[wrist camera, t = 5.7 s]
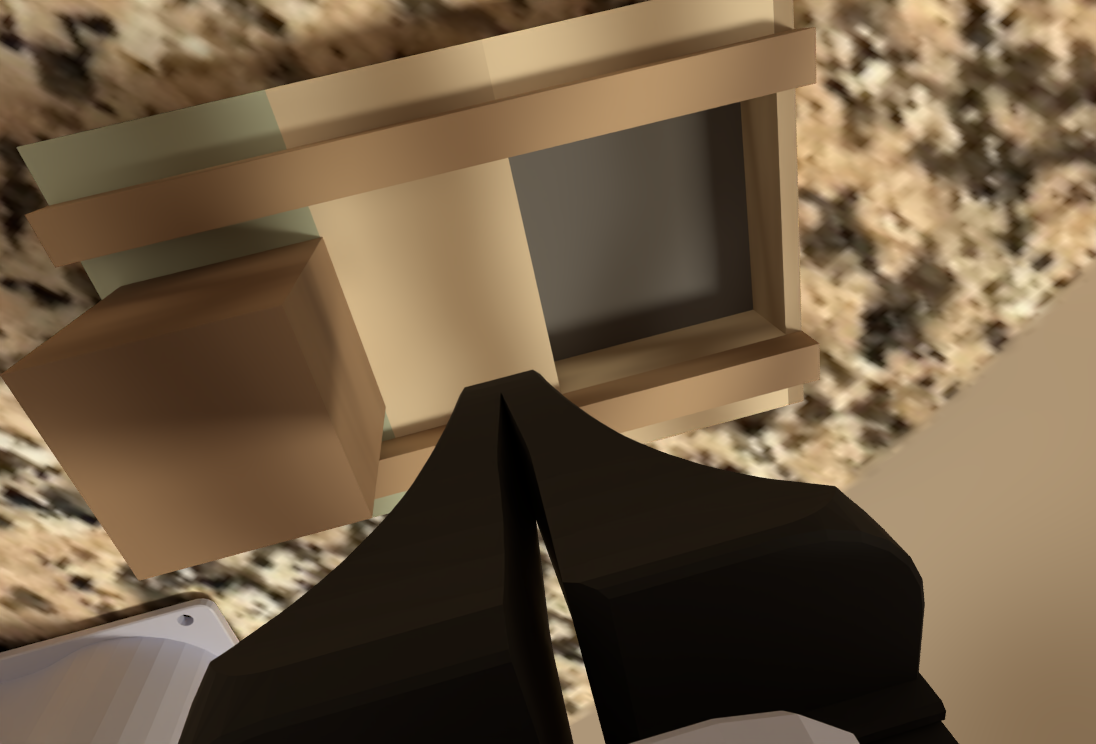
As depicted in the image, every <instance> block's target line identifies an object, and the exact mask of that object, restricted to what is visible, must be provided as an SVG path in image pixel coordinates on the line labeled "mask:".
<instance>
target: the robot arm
mask: <svg viewBox="0 0 1096 744" xmlns="http://www.w3.org/2000/svg"><path fill="white" fill-rule="evenodd" d="M536 521H537V524H538V527H539V529H540V532H541V535H542V538H543V540H544V543H545V546H546V548H547V551H548V554H549V557H550V559H551V562H552V565H553V568H554V570H555V573H556V576H557V578H558V581H559V584H560V587H561V589H562V592H563V595H564V597H565V600H566V603H567V606H568V608H569V611H570V614H571V617H572V619H573V623H574V627H575V631H576V634H577V638H578V642H579V646H580V649H581V653H582V657H583V661H584V664H585V668H586V672H587V676H588V680H589V683H590V687H591V691H592V695H593V698H594V702H595V706H596V710H597V713H598V717H599V721H600V724H601V728H602V732H603V736H604V740H605V743H606V744H958V742H957V741H956V740H955V738H954V737H953V736H952V734H951V733H950V732H949V731H948V729H947V728H946V727H945V725H944V724H943V723H942V722H941V721H942V720H945V714H946V710H945V708H944V705H943V703H942V700H941V699H940V698H939V697H938V696H937V694H936V693H935V692H934V690H933V689H932V688H931V687H930V685H929V684H928V683H927V682H926V680H925V679H924V678H923V677H922V676H921V674H920V673H919V662H920V650H921V640H922V628H923V617H924V606H925V602H924V592H923V581H922V577H921V576H920V574H919V572H918V570H917V568H916V566H915V564H914V563H913V561H912V559H911V557H910V556H909V555H908V554H907V553H906V552H905V551H904V550H903V549H902V548H901V547H900V546H899V545H898V544H897V543H896V542H895V541H894V540H893V539H892V537H890V536H889V534H888V533H887V532H886V531H885V530H884V529H883V528H882V527H881V526H880V525H879V524H878V523H877V522H876V521H875V520H874V519H872V518H871V517H870V516H869V515H868V514H867V513H866V512H865V511H864V510H863V509H861V508H860V507H859V506H858V505H857V504H855V503H854V502H853V501H852V500H851V499H849V498H848V497H847V496H846V495H845V494H843V493H842V492H841V491H840V490H839V489H838V488H837V487H835V486H829V485H820V484H811V483H802V482H793V481H784V480H775V479H767V478H761V477H755V476H750V475H745V474H740V473H735V472H730V471H725V470H721V469H717V468H713V467H709V466H705V465H701V464H698V463H695V462H691V461H688V460H685V459H682V458H679V457H676V456H672V455H669V454H667V453H664V452H661V451H658V450H656V449H653V448H651V447H648V446H646V445H644V444H642V443H639V442H637V441H635V440H633V439H630V438H628V437H626V436H624V435H622V434H620V433H618V432H616V431H615V430H613V429H611V428H610V427H608V426H606V425H605V424H603V423H601V422H600V421H598V420H597V419H595V418H594V417H592V416H591V415H589V414H588V413H586V412H585V411H583V410H582V409H581V408H579V407H578V406H577V405H575V404H574V403H572V402H571V401H570V400H568V399H567V398H566V397H565V396H563V395H562V394H561V393H560V392H559V391H558V390H556V389H555V388H554V387H553V386H552V385H551V384H550V383H549V382H548V381H546V380H545V378H544V377H543V376H542V375H541V374H540V373H538V372H536V371H535V370H529V371H525V372H521V373H517V374H514V375H510V376H506V377H502V378H498V379H495V380H491V381H487V382H483V383H479V384H476V385H472V386H468V387H464V389H463V391H462V392H461V394H460V396H459V398H458V401H457V403H456V405H455V408H454V410H453V412H452V414H451V416H450V419H449V421H448V423H447V425H446V427H445V429H444V431H443V433H442V435H441V437H440V438H439V440H438V442H437V444H436V446H435V448H434V450H433V452H432V453H431V455H430V457H429V458H428V460H427V462H426V463H425V465H424V466H423V468H422V469H421V471H420V473H419V474H418V476H417V477H416V479H415V481H414V482H413V484H412V485H411V487H410V488H409V489H408V491H407V492H406V493H405V495H404V496H403V497H402V499H401V500H400V501H399V502H398V503H397V505H396V506H395V507H394V508H393V509H392V511H391V512H390V513H389V514H388V516H387V517H386V518H385V519H384V520H383V521H382V522H381V524H380V525H379V526H378V527H377V528H376V529H375V530H374V531H373V532H372V533H371V534H370V535H369V536H368V537H367V538H366V539H365V540H364V541H363V542H362V543H361V544H360V545H359V546H358V547H357V548H356V549H355V550H354V551H353V552H352V553H351V554H350V555H349V556H348V557H347V558H346V559H345V560H344V561H343V562H342V563H341V564H340V565H338V566H337V567H336V568H335V569H334V570H333V571H332V572H331V573H329V574H328V575H327V576H326V577H325V578H324V579H323V580H321V581H320V582H319V583H318V584H317V585H315V586H314V587H313V588H312V589H310V590H309V591H308V592H307V593H306V594H304V595H303V596H302V597H301V598H299V599H298V600H297V601H296V602H294V603H293V604H292V605H291V606H289V607H288V608H287V609H285V610H284V611H283V612H281V613H280V614H279V615H277V616H276V617H274V618H273V619H272V620H270V621H269V622H267V623H266V624H264V625H263V626H262V627H260V628H259V629H257V630H256V631H254V632H253V633H252V634H250V635H249V636H247V637H246V638H244V639H243V640H242V641H240V642H239V640H238V639H237V637H236V636H235V634H234V632H233V631H232V629H231V627H230V626H229V624H228V623H227V621H226V619H225V618H224V616H223V614H222V613H221V611H220V610H219V608H218V606H217V605H216V604H215V603H214V602H213V601H211V600H209V599H204V598H201V599H195V600H191V601H187V602H184V603H180V604H176V605H173V606H169V607H165V608H162V609H158V610H154V611H151V612H147V613H143V614H140V615H136V616H132V617H129V618H125V619H122V620H118V621H114V622H111V623H107V624H103V625H100V626H96V627H92V628H89V629H85V630H81V631H78V632H74V633H70V634H67V635H63V636H59V637H56V638H52V639H48V640H45V641H41V642H37V643H34V644H30V645H26V646H23V647H19V648H16V649H12V650H8V651H5V652H1V653H0V744H573V740H572V735H571V730H570V726H569V721H568V717H567V713H566V708H565V704H564V699H563V695H562V690H561V686H560V681H559V677H558V672H557V668H556V663H555V659H554V654H553V649H552V643H551V637H550V630H549V623H548V615H547V606H546V598H545V590H544V581H543V573H542V565H541V556H540V548H539V540H538V532H537V524H536ZM184 615H189V616H191V617H186V616H184Z"/></svg>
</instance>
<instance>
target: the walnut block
mask: <svg viewBox="0 0 1096 744" xmlns="http://www.w3.org/2000/svg"><path fill="white" fill-rule="evenodd" d="M0 376H1V377H2V378H3V380H4V381H5V383H6V384H7V386H8V387H9V389H10V390H11V392H12V393H13V395H14V396H15V398H16V399H17V401H18V402H19V404H20V405H21V407H22V408H23V410H24V411H25V413H26V414H27V415H28V417H29V418H30V420H31V421H32V423H33V424H34V426H35V427H36V429H37V430H38V432H39V433H40V435H41V436H42V438H43V439H44V441H45V442H46V444H47V445H48V447H49V448H50V450H51V451H52V453H53V454H54V455H55V457H56V458H57V460H58V461H59V463H60V464H61V466H62V467H63V469H64V470H65V472H66V473H67V475H68V476H69V478H70V479H71V481H72V482H73V484H74V485H75V487H76V488H77V490H78V491H79V493H80V494H81V495H82V497H83V498H84V500H85V501H86V503H87V504H88V506H89V507H90V509H91V510H92V512H93V513H94V515H95V516H96V518H97V519H98V521H99V522H100V524H101V525H102V527H103V528H104V530H105V531H106V532H107V534H108V535H109V537H110V538H111V540H112V541H113V543H114V544H115V546H116V547H117V549H118V550H119V552H120V553H121V555H122V556H123V558H124V559H125V561H126V562H127V564H128V565H129V567H130V568H131V570H132V571H133V572H134V574H135V575H136V577H137V578H138V580H143V579H147V578H151V577H154V576H158V575H162V574H165V573H169V572H173V571H177V570H180V569H184V568H188V567H191V566H195V565H199V564H203V563H206V562H210V561H214V560H217V559H221V558H225V557H229V556H232V555H236V554H240V553H243V552H247V551H251V550H254V549H258V548H262V547H266V546H269V545H273V544H277V543H280V542H284V541H288V540H292V539H295V538H299V537H303V536H306V535H310V534H314V533H318V532H321V531H325V530H329V529H332V528H336V527H340V526H344V525H347V524H351V523H355V522H358V521H362V520H366V519H370V518H372V515H373V507H374V499H375V491H376V483H377V474H378V466H379V458H380V450H381V442H382V434H383V426H384V418H385V410H386V406H385V403H384V401H383V398H382V395H381V392H380V390H379V387H378V384H377V382H376V379H375V376H374V374H373V371H372V368H371V366H370V363H369V360H368V357H367V355H366V352H365V349H364V347H363V344H362V341H361V339H360V336H359V333H358V331H357V328H356V325H355V323H354V320H353V317H352V314H351V312H350V309H349V306H348V304H347V301H346V298H345V296H344V293H343V290H342V288H341V285H340V282H339V280H338V277H337V274H336V271H335V269H334V266H333V263H332V261H331V258H330V255H329V253H328V250H327V247H326V245H325V242H324V239H323V237H320V238H316V239H312V240H308V241H304V242H300V243H296V244H292V245H288V246H283V247H279V248H275V249H271V250H267V251H263V252H259V253H255V254H251V255H246V256H242V257H238V258H234V259H230V260H226V261H222V262H218V263H214V264H210V265H205V266H201V267H197V268H193V269H189V270H185V271H181V272H177V273H173V274H168V275H164V276H160V277H156V278H152V279H148V280H144V281H140V282H136V283H132V284H127V285H123V286H120V287H119V288H117V289H116V290H115V291H113V292H112V293H111V294H109V295H108V296H107V297H105V298H104V299H102V300H101V301H100V302H98V303H97V304H96V305H94V306H93V307H92V308H90V309H89V310H88V311H86V312H85V313H84V314H82V315H81V316H79V317H78V318H77V319H75V320H74V321H73V322H71V323H70V324H69V325H67V326H66V327H65V328H63V329H62V330H60V331H59V332H58V333H56V334H55V335H54V336H52V337H51V338H50V339H48V340H47V341H46V342H44V343H43V344H41V345H40V346H39V347H37V348H36V349H35V350H33V351H32V352H31V353H29V354H28V355H27V356H25V357H24V358H23V359H21V360H20V361H18V362H17V363H16V364H14V365H13V366H12V367H10V368H9V369H8V370H6V371H5V372H4V373H2V374H1V375H0Z"/></svg>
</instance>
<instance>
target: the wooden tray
mask: <svg viewBox="0 0 1096 744" xmlns="http://www.w3.org/2000/svg"><path fill="white" fill-rule="evenodd" d="M815 83H816V27H813V28H801V29H794V17H793V0H650V1H646V2H642V3H637V4H633V5H629V6H624V7H620V8H616V9H611V10H607V11H603V12H598V13H594V14H590V15H585V16H581V17H577V18H572V19H568V20H564V21H559V22H555V23H551V24H546V25H542V26H538V27H534V28H529V29H525V30H521V31H516V32H512V33H508V34H503V35H499V36H495V37H490V38H486V39H482V40H477V41H473V42H469V43H464V44H460V45H456V46H451V47H447V48H443V49H438V50H434V51H430V52H425V53H421V54H417V55H412V56H408V57H404V58H400V59H395V60H391V61H387V62H382V63H378V64H374V65H369V66H365V67H361V68H356V69H352V70H348V71H343V72H339V73H335V74H330V75H326V76H322V77H317V78H313V79H309V80H304V81H300V82H296V83H291V84H287V85H283V86H278V87H274V88H270V89H266V90H261V91H257V92H253V93H248V94H244V95H240V96H235V97H231V98H227V99H222V100H218V101H214V102H209V103H205V104H201V105H196V106H192V107H188V108H183V109H179V110H175V111H170V112H166V113H162V114H157V115H153V116H149V117H144V118H140V119H136V120H132V121H127V122H123V123H119V124H114V125H110V126H106V127H101V128H97V129H93V130H88V131H84V132H80V133H75V134H71V135H67V136H62V137H58V138H54V139H49V140H45V141H41V142H36V143H32V144H28V145H23V146H19V147H16V148H17V149H18V151H19V153H20V155H21V157H22V158H23V160H24V162H25V164H26V166H27V167H28V169H29V171H30V173H31V174H32V176H33V178H34V180H35V182H36V183H37V185H38V187H39V189H40V191H41V192H42V194H43V196H44V198H45V199H46V201H47V203H48V205H49V206H46V207H44V208H41V209H39V210H36V211H33V212H31V213H28V214H26V215H25V216H26V218H27V220H28V221H29V223H30V225H31V227H32V228H33V230H34V232H35V234H36V235H37V237H38V239H39V240H40V242H41V244H42V246H43V247H44V249H45V251H46V252H47V254H48V256H49V258H50V259H51V261H52V263H53V264H54V266H55V267H59V266H63V265H68V264H72V263H76V262H81V264H82V265H83V267H84V269H85V271H86V273H87V274H88V276H89V278H90V280H91V281H92V283H93V285H94V287H95V289H96V290H97V292H98V294H99V296H100V298H101V299H104V298H105V297H107V296H108V295H109V294H111V293H112V292H113V291H115V290H116V289H117V288H119V287H120V286H123V285H127V284H132V283H136V282H140V281H144V280H148V279H152V278H156V277H160V276H164V275H168V274H173V273H177V272H181V271H185V270H189V269H193V268H197V267H201V266H205V265H210V264H214V263H218V262H222V261H226V260H230V259H234V258H238V257H242V256H246V255H251V254H255V253H259V252H263V251H267V250H271V249H275V248H279V247H283V246H288V245H292V244H296V243H300V242H304V241H308V240H312V239H316V238H320V237H323V239H324V242H325V245H326V247H327V250H328V253H329V255H330V258H331V261H332V263H333V266H334V269H335V271H336V274H337V277H338V280H339V282H340V285H341V288H342V290H343V293H344V296H345V298H346V301H347V304H348V306H349V309H350V312H351V314H352V317H353V320H354V323H355V325H356V328H357V331H358V333H359V336H360V339H361V341H362V344H363V347H364V349H365V352H366V355H367V357H368V360H369V363H370V366H371V368H372V371H373V374H374V376H375V379H376V382H377V384H378V387H379V390H380V392H381V395H382V398H383V401H384V403H385V406H386V410H385V418H384V426H383V434H382V442H381V450H380V458H379V466H378V474H377V483H376V491H375V499H374V507H373V515H372V518H373V517H376V516H380V515H384V514H387V513H390V512H391V511H392V509H393V508H394V507H395V506H396V505H397V503H398V502H399V501H400V500H401V499H402V497H403V496H404V495H405V493H406V492H407V491H408V489H409V488H410V487H411V485H412V484H413V482H414V481H415V479H416V477H417V476H418V474H419V473H420V471H421V469H422V468H423V466H424V465H425V463H426V462H427V460H428V458H429V457H430V455H431V453H432V452H433V450H434V448H435V446H436V444H437V442H438V440H439V438H440V437H441V435H442V433H443V431H444V429H445V427H446V425H447V423H448V421H449V419H450V416H451V414H452V412H453V410H454V408H455V405H456V403H457V401H458V398H459V396H460V394H461V392H462V391H463V389H464V387H468V386H472V385H476V384H479V383H483V382H487V381H491V380H495V379H498V378H502V377H506V376H510V375H514V374H517V373H521V372H525V371H529V370H535V371H536V372H538V373H540V374H541V375H542V376H543V377H544V378H545V380H546V381H548V382H549V383H550V384H551V385H552V386H553V387H554V388H555V389H556V390H558V391H559V392H560V393H561V394H562V395H563V396H565V397H566V398H567V399H568V400H570V401H571V402H572V403H574V404H575V405H577V406H578V407H579V408H581V409H582V410H583V411H585V412H586V413H588V414H589V415H591V416H592V417H594V418H595V419H597V420H598V421H600V422H601V423H603V424H605V425H606V426H608V427H610V428H611V429H613V430H615V431H616V432H618V433H620V434H622V435H624V436H626V437H628V438H630V439H633V440H635V441H637V442H639V443H642V444H646V443H650V442H653V441H657V440H661V439H665V438H668V437H672V436H676V435H679V434H683V433H687V432H690V431H694V430H698V429H701V428H705V427H709V426H713V425H716V424H720V423H724V422H727V421H731V420H735V419H738V418H742V417H746V416H749V415H753V414H757V413H761V412H764V411H768V410H772V409H775V408H779V407H783V406H786V405H790V404H794V403H798V402H801V401H803V384H805V383H809V382H813V381H816V380H820V359H819V343H818V342H816V341H815V340H814V339H812V338H811V337H810V336H808V335H807V334H805V333H804V332H803V331H802V328H801V289H800V250H799V211H798V172H797V134H796V95H795V88H798V87H802V86H806V85H811V84H815Z"/></svg>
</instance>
